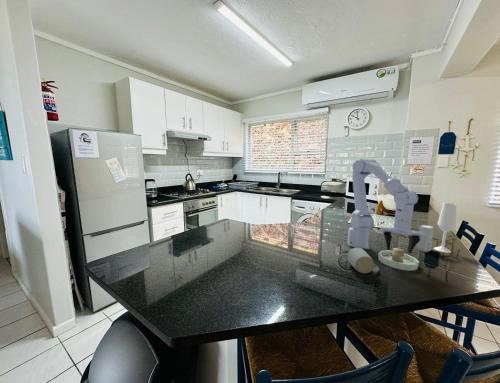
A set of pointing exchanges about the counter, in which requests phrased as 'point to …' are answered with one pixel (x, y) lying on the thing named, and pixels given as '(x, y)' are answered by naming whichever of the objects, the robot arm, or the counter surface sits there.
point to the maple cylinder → (398, 255)
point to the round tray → (407, 265)
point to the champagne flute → (446, 223)
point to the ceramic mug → (361, 261)
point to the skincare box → (425, 238)
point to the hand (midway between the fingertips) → (398, 250)
